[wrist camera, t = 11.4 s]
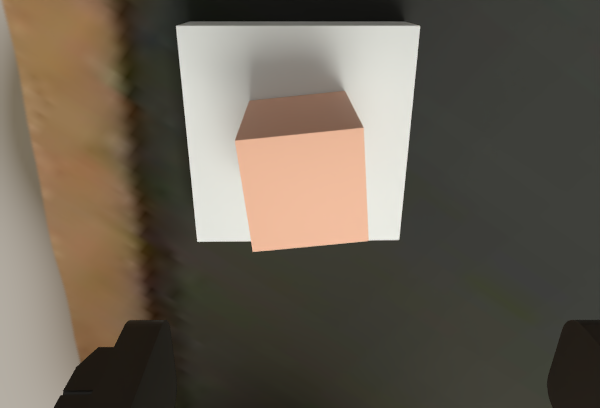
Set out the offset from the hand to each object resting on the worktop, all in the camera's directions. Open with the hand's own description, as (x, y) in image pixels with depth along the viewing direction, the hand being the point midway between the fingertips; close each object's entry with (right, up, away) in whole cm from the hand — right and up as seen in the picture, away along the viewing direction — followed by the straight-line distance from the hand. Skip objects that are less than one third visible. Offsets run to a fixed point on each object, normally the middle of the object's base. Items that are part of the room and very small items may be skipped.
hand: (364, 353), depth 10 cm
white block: (-1, +8, +20) cm, 21 cm away
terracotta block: (-1, +6, +16) cm, 17 cm away
